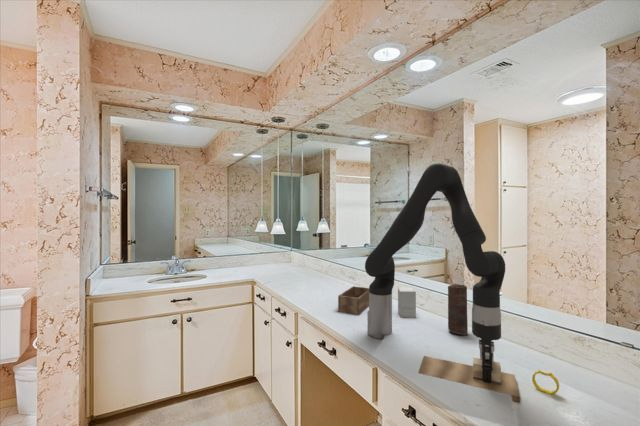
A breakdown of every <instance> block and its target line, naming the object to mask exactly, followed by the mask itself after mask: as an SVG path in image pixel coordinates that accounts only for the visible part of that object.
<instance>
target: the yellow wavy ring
mask: <svg viewBox="0 0 640 426" xmlns="http://www.w3.org/2000/svg"><path fill="white" fill-rule="evenodd" d="M537 374H541V375H543V376H547V377H551V378H552V380H553V381H554V382H555V384H556V389H555V390H552V391H550V390H549V389H545V388H543V387H540V385H539V384H538V383H537V381H536V375H537ZM531 381H532V384H533V385H534V387H535V388H536V389H537V390H538V391H541V392H543V393H546V394H547V395H555V394H557V393H558V391H559V390H560V382H559V380H558V378H557V377H556V376H555V375H554V374H553V373H552V371H551V370H549V369H547V368H539V369H538V370H536V371H535V372H534V373H533V374H532V378H531Z"/></svg>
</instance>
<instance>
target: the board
mask: <svg viewBox="0 0 640 426" xmlns="http://www.w3.org/2000/svg"><path fill="white" fill-rule="evenodd" d="M418 374H419V375H420V374H421V375H425V376H430V377H434V378H437V379H443V380H446V381H451V382H455V383H459V384H462V385H467V386H472V387H477V388H480V389H484V390H489V391H493V392H497V393H502V394H506V395H509V396H511V400H512V402H517V403H520V402H521V395H520V392H519V391H520V390H519V387H518V384H517V383H518V382H517V378H516V374H512V373H508V372H504V371H501V385H500V384H495V383H487V382H484V381H482V380H477V379H473V365H470V364H465V363H460V362H456V361H451V360H446V359H441V358H436V357H432V356H427V355H423V358H422V361H421V364H420V366H419V369H418Z"/></svg>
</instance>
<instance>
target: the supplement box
mask: <svg viewBox="0 0 640 426" xmlns="http://www.w3.org/2000/svg"><path fill="white" fill-rule="evenodd" d="M416 292H417V291H416V290H415V289H414V288H413V287H397V312H398V315H399V316H400V318H414V319H415V318H416V319H417V297H416V296H417V293H416Z"/></svg>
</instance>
